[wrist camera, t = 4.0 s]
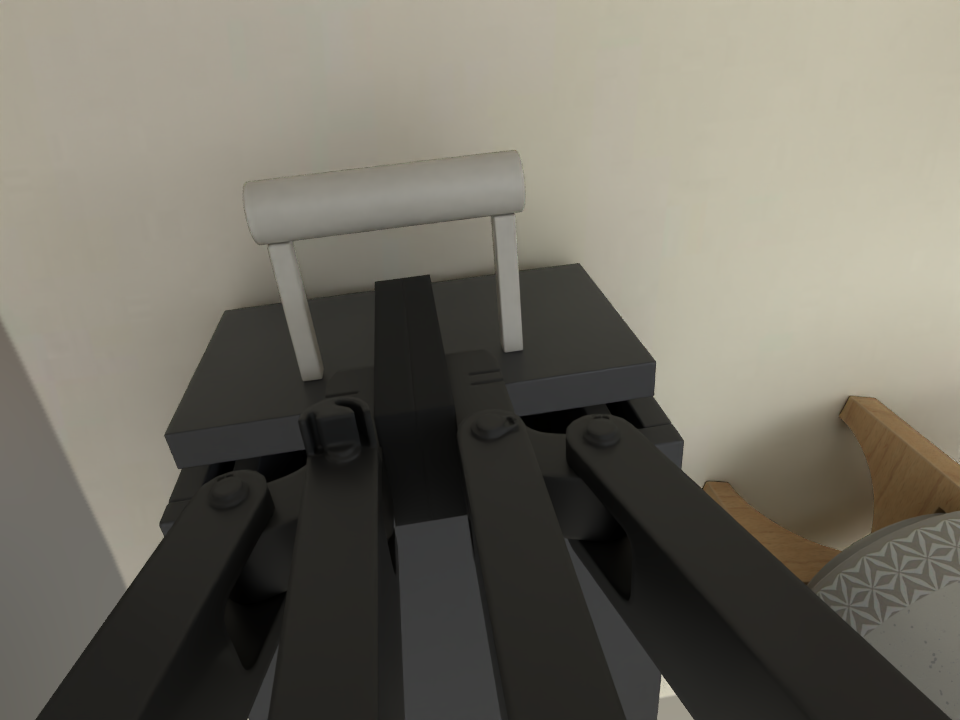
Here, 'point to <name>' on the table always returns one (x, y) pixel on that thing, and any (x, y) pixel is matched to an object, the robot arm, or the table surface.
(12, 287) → the table surface
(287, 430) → the drawer
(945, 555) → the planter
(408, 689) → the cabinet
